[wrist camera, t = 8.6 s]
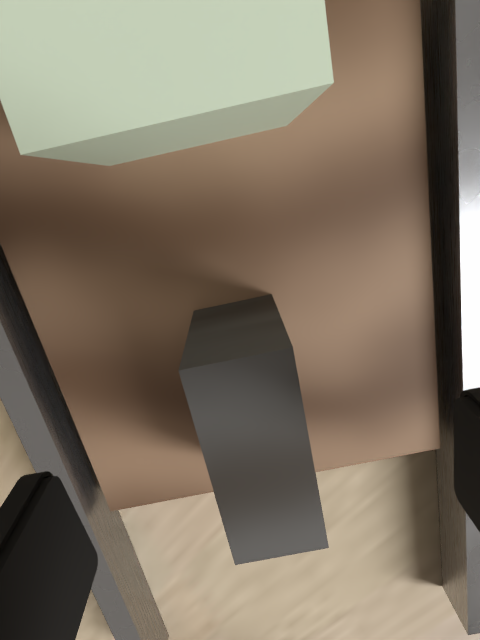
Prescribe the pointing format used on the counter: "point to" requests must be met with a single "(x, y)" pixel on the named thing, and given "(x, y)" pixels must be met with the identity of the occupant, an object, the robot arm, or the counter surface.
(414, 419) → the brown rectangular slab
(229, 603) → the counter surface
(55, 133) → the block
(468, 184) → the lane rails
